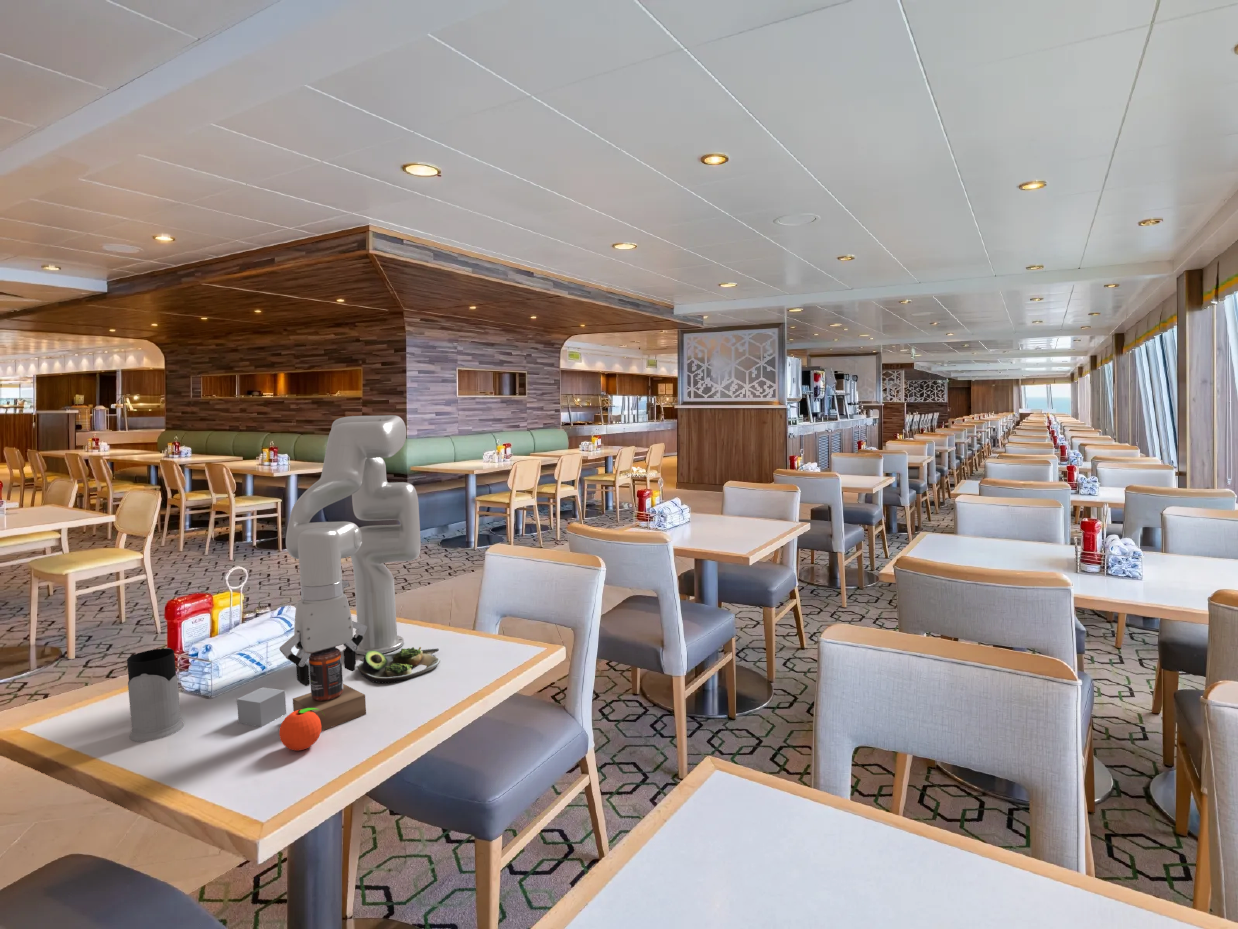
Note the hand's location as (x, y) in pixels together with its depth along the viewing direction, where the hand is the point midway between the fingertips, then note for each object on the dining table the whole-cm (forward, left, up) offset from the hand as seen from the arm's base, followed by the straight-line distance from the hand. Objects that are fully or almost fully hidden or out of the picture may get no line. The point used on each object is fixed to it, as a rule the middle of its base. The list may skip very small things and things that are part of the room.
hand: (327, 676), depth 135 cm
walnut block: (0, 0, -8) cm, 8 cm away
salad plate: (-13, +22, -9) cm, 27 cm away
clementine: (+9, -9, -8) cm, 15 cm away
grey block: (-10, -9, -8) cm, 16 cm away
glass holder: (-23, -23, -8) cm, 34 cm away
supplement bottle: (-1, 0, -4) cm, 4 cm away
